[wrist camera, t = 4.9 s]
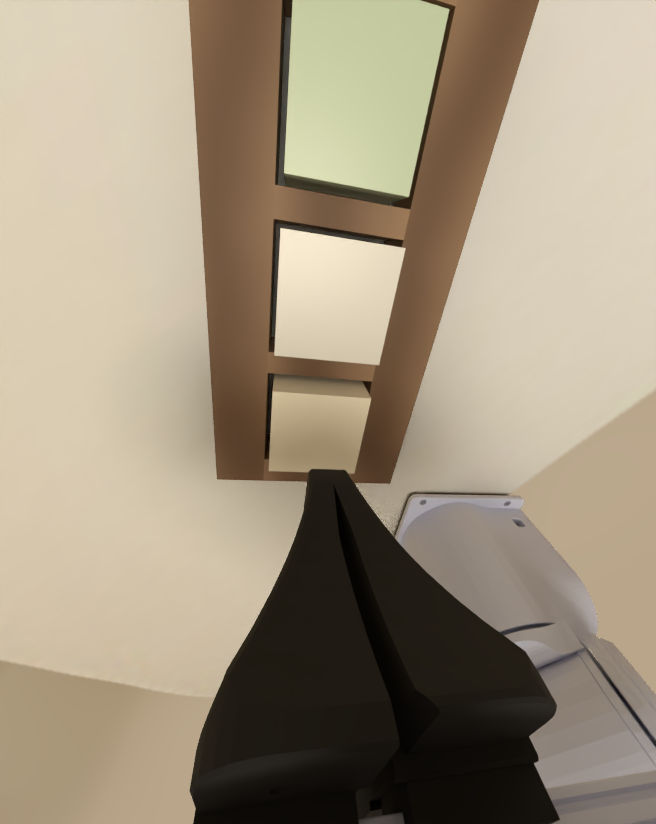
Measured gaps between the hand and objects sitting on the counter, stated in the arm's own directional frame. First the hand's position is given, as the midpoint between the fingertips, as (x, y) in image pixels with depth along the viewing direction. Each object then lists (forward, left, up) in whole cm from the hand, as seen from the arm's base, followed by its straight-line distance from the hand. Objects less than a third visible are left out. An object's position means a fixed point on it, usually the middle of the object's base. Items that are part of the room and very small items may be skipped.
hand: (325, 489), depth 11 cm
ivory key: (0, -6, -6) cm, 8 cm away
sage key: (0, -12, -7) cm, 14 cm away
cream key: (0, 0, -6) cm, 6 cm away
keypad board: (0, -6, -7) cm, 9 cm away
